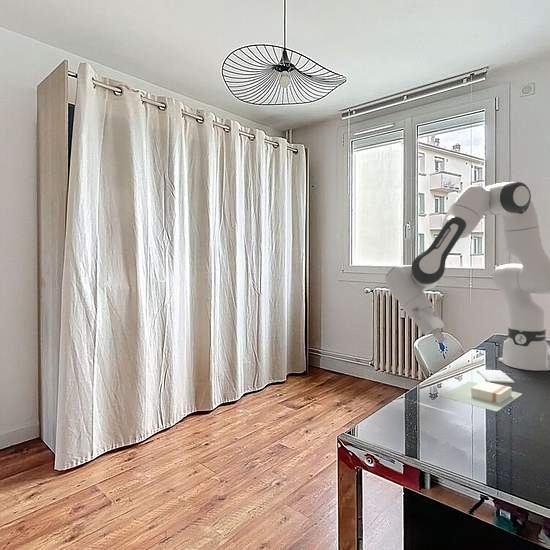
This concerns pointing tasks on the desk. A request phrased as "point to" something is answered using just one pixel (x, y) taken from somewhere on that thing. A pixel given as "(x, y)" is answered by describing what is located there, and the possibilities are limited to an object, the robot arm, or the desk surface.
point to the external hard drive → (495, 376)
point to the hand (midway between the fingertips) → (444, 342)
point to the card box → (491, 392)
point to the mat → (465, 396)
